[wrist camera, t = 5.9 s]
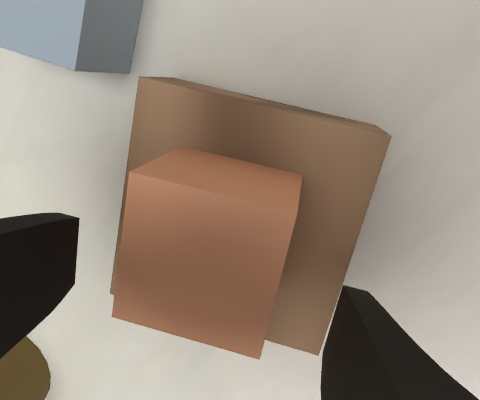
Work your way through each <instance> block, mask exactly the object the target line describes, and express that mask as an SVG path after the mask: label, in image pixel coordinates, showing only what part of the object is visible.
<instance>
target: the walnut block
mask: <svg viewBox="0 0 480 400" xmlns="http://www.w3.org/2000/svg"><path fill="white" fill-rule="evenodd" d="M390 139H391V136H390V135H389V134H387V133H386V132H384V131H383V130H381V129H380V128H379V127H377V126H375V125H371V124H367V123H363V122H358V121H354V120H350V119H346V118H342V117H337V116H333V115H329V114H325V113H320V112H316V111H312V110H308V109H303V108H299V107H295V106H291V105H286V104H282V103H278V102H274V101H269V100H265V99H261V98H257V97H252V96H248V95H244V94H240V93H235V92H231V91H227V90H223V89H218V88H214V87H210V86H206V85H201V84H197V83H193V82H189V81H184V80H180V79H176V78H166V77H139V80H138V87H137V95H136V102H135V110H134V117H133V125H132V132H131V140H130V147H129V155H128V162H127V169H126V177H125V184H124V192H123V199H122V207H121V214H120V222H119V229H118V237H117V244H116V252H115V259H114V267H113V274H112V282H111V289H110V294H113V295H115V287H116V278H117V270H118V261H119V253H120V245H121V236H122V228H123V219H124V211H125V203H126V194H127V186H128V178H129V172H130V171H132V170H134V169H136V168H138V167H140V166H142V165H144V164H146V163H148V162H150V161H152V160H155V159H157V158H159V157H161V156H163V155H165V154H167V153H169V152H171V151H173V150H175V149H177V148H179V147H182V146H183V147H187V148H191V149H196V150H200V151H204V152H208V153H213V154H217V155H221V156H225V157H230V158H234V159H238V160H242V161H246V162H251V163H255V164H259V165H263V166H268V167H272V168H276V169H280V170H285V171H289V172H293V173H297V174H302V175H303V176H302V183H301V190H300V198H299V205H298V212H297V217H296V220H295V224H294V228H293V232H292V236H291V240H290V244H289V248H288V251H287V255H286V259H285V263H284V267H283V271H282V275H281V278H280V282H279V286H278V290H277V294H276V298H275V302H274V306H273V309H272V313H271V317H270V321H269V325H268V329H267V333H266V337H265V340H268V341H271V342H275V343H278V344H281V345H285V346H288V347H291V348H295V349H298V350H302V351H305V352H308V353H312V354H315V355H318V356H319V353H320V350H321V347H322V344H323V341H324V338H325V335H326V332H327V329H328V326H329V323H330V320H331V317H332V314H333V311H334V308H335V305H336V302H337V299H338V296H339V293H340V290H341V287H342V284H343V281H344V278H345V275H346V272H347V269H348V266H349V263H350V260H351V257H352V254H353V251H354V248H355V245H356V242H357V239H358V236H359V233H360V230H361V227H362V224H363V221H364V218H365V215H366V211H367V208H368V205H369V202H370V199H371V196H372V193H373V190H374V187H375V184H376V181H377V178H378V175H379V172H380V169H381V166H382V163H383V160H384V157H385V154H386V151H387V148H388V145H389V142H390Z"/></svg>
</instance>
